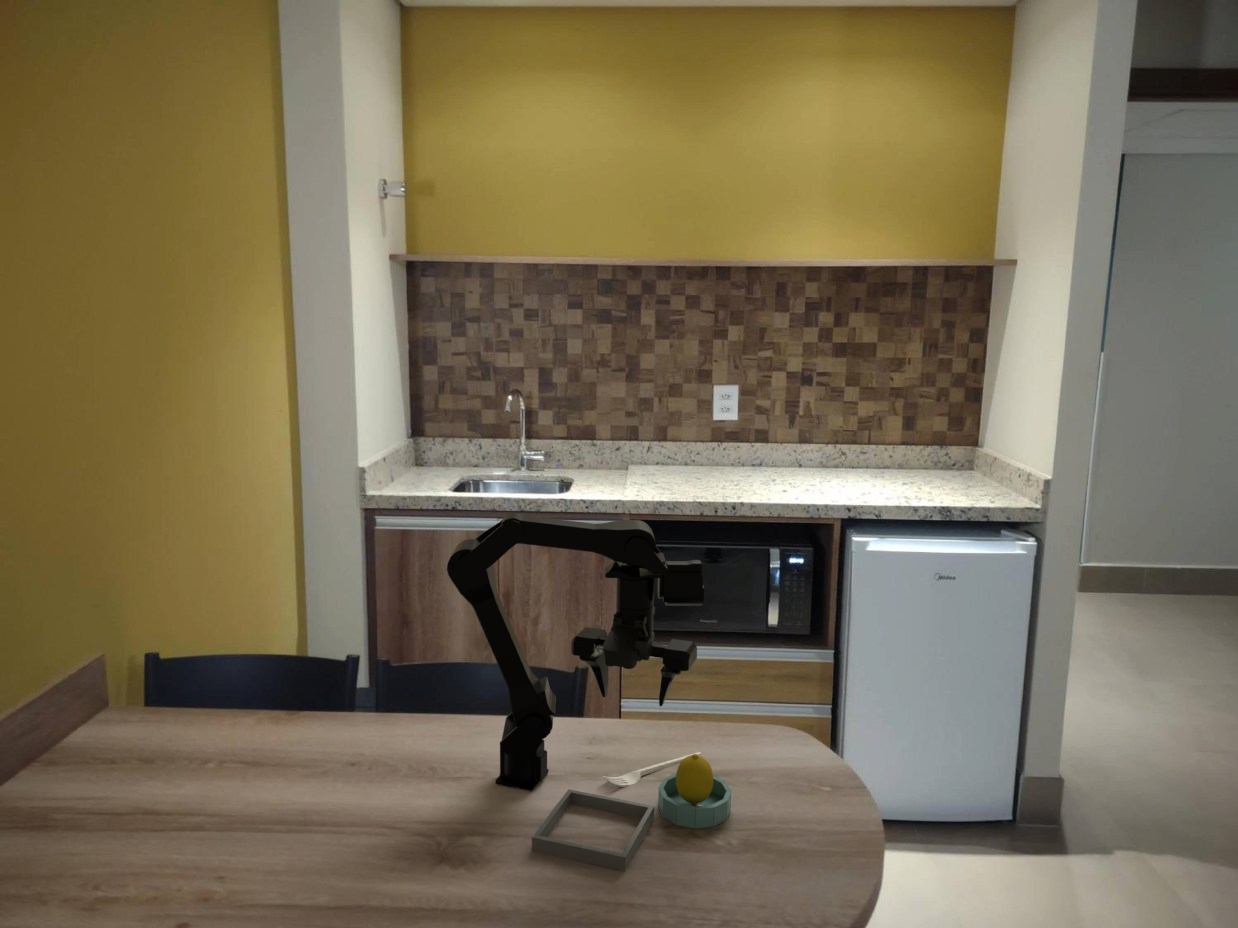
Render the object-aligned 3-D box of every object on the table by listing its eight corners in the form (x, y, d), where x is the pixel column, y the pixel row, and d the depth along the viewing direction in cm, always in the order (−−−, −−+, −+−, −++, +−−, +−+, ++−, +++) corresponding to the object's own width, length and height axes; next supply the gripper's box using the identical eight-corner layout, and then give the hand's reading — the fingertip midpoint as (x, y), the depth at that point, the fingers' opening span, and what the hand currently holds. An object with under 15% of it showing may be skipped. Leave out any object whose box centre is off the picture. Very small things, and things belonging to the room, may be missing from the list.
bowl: (650, 819, 134) (651, 800, 133) (669, 784, 144) (670, 766, 143) (721, 833, 131) (721, 813, 130) (735, 797, 140) (736, 778, 140)
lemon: (710, 816, 134) (712, 765, 132) (672, 811, 135) (674, 761, 133) (714, 797, 139) (716, 747, 138) (677, 792, 140) (679, 743, 139)
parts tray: (531, 850, 126) (531, 836, 125) (568, 801, 138) (568, 789, 138) (625, 870, 122) (625, 857, 121) (654, 818, 134) (654, 805, 134)
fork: (707, 760, 153) (708, 750, 153) (611, 794, 141) (611, 782, 141) (694, 753, 156) (695, 742, 155) (598, 785, 144) (599, 773, 143)
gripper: (557, 613, 136) (557, 712, 138) (680, 629, 130) (677, 732, 133) (584, 591, 146) (583, 684, 149) (699, 605, 140) (696, 701, 143)
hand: (632, 700), depth 143 cm, fingers open, 9 cm apart
